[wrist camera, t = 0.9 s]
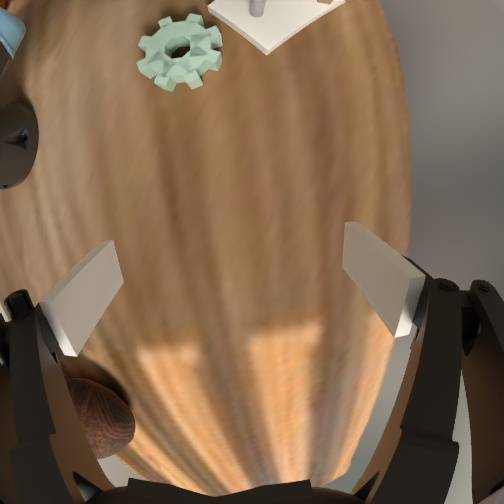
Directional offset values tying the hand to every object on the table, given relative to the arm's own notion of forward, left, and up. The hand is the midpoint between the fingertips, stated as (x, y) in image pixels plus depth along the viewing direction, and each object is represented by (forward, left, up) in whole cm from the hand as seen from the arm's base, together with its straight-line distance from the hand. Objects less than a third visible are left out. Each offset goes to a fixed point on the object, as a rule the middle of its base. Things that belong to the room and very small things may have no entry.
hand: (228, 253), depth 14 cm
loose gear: (-18, +9, -23) cm, 30 cm away
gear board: (-15, +28, -23) cm, 39 cm away
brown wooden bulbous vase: (+8, -58, -23) cm, 63 cm away
